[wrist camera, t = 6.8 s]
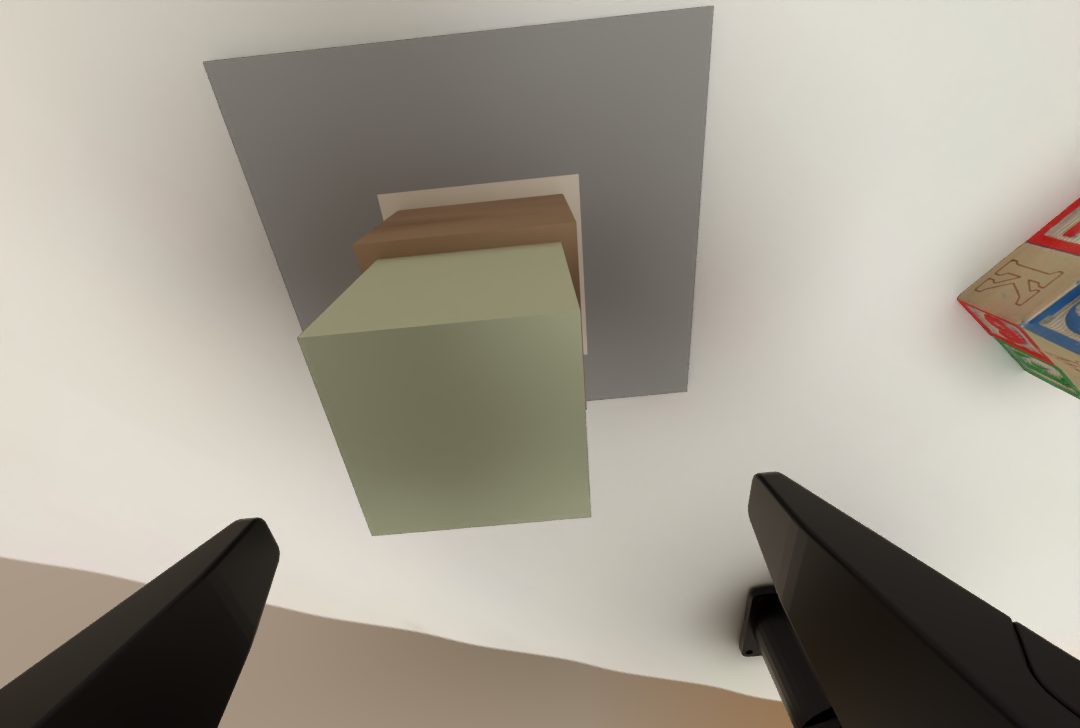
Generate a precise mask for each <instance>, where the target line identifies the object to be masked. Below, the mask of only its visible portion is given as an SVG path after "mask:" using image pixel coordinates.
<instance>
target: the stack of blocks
mask: <svg viewBox="0 0 1080 728" xmlns="http://www.w3.org/2000/svg"><path fill="white" fill-rule="evenodd" d="M957 300H958V301H959V302H960V303H961V304H962V306H963V307H964V308H965V309H966V310H967V311H968V312H969V313H970V314H971V315H972V316H973V317H974V318H975V319H976V320H977V322H978V323H979V324H980V325H981V326H982V327H983V328H984V329H985V330H986V331H987V332H988V333H989V334H990V335H991V336H994V338H996V340H997V341H998V342H999V343H1000V344H1001V345H1002V346H1003V347H1004V348H1005V349H1006V350H1007V352H1008V353H1009V354H1010V355H1011V356H1012V357H1013V358H1014V359H1015V360H1016V361H1017V362H1018V363H1019V364H1020V366H1021V367H1022V368H1023V369H1024V370H1025V371H1027V372H1029V373H1030V374H1032V375H1034V376H1036V377H1038V378H1039V379H1041V380H1043V381H1045V382H1047V383H1049V384H1051V385H1053V386H1055V387H1057V388H1059V389H1061V390H1063V391H1065V392H1067V393H1069V394H1071V395H1072V396H1074V397H1076V398H1078V399H1080V198H1079V199H1078V200H1076V201H1075V202H1074V203H1073V204H1071V205H1070V206H1069V207H1068V208H1067V209H1065V210H1064V211H1063V212H1062V213H1060V214H1059V215H1058V216H1057V217H1055V218H1054V219H1053V220H1052V221H1051V222H1049V223H1048V224H1047V225H1046V226H1044V227H1043V228H1042V229H1041V230H1040V231H1038V232H1037V233H1036V234H1035V235H1033V236H1032V237H1031V238H1030V239H1029V240H1027V241H1026V242H1025V243H1024V244H1022V245H1021V246H1019V247H1018V248H1017V249H1016V250H1014V251H1013V252H1012V253H1011V254H1009V255H1008V256H1007V257H1006V258H1004V259H1003V260H1002V261H1001V262H999V263H998V264H997V265H996V266H995V267H993V268H992V269H991V270H990V271H988V272H987V273H986V274H985V275H984V276H982V277H981V278H980V279H979V280H977V281H976V282H975V283H974V284H973V285H971V286H970V287H969V288H968V289H966V290H965V291H964V292H963V293H962V294H960V295H959V296H958V298H957Z"/></svg>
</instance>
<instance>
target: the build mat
mask: <svg viewBox="0 0 1080 728" xmlns="http://www.w3.org/2000/svg"><path fill="white" fill-rule="evenodd" d="M713 9H714V6H706V7H697V8H688V9H679V10H670V11H661V12H651V13H642V14H633V15H624V16H615V17H606V18H597V19H588V20H579V21H570V22H560V23H551V24H542V25H533V26H524V27H515V28H506V29H497V30H488V31H478V32H469V33H460V34H451V35H442V36H433V37H424V38H415V39H406V40H397V41H387V42H378V43H369V44H360V45H351V46H342V47H333V48H324V49H315V50H305V51H296V52H287V53H278V54H269V55H260V56H251V57H242V58H233V59H224V60H214V61H205V62H203V64H204V67H205V70H206V73H207V75H208V78H209V81H210V83H211V86H212V89H213V91H214V94H215V97H216V99H217V102H218V105H219V108H220V110H221V113H222V116H223V118H224V121H225V124H226V126H227V129H228V132H229V134H230V137H231V140H232V143H233V145H234V148H235V151H236V153H237V156H238V159H239V161H240V164H241V167H242V169H243V172H244V175H245V178H246V180H247V183H248V186H249V188H250V191H251V194H252V196H253V199H254V202H255V204H256V207H257V210H258V213H259V215H260V218H261V221H262V223H263V226H264V229H265V231H266V234H267V237H268V239H269V242H270V245H271V248H272V250H273V253H274V256H275V258H276V261H277V264H278V266H279V269H280V272H281V274H282V277H283V280H284V283H285V285H286V288H287V291H288V293H289V296H290V299H291V301H292V304H293V307H294V309H295V312H296V315H297V318H298V320H299V323H300V326H301V328H302V331H303V332H304V331H305V330H306V329H307V328H308V327H309V326H310V325H311V324H312V323H313V322H314V321H315V320H316V319H317V318H318V317H319V316H320V315H321V314H322V313H323V312H324V311H325V310H326V309H327V308H328V307H329V306H330V305H331V304H332V303H333V302H334V301H335V300H336V299H337V298H338V297H339V296H340V295H341V294H342V293H343V292H344V291H346V290H347V289H348V288H349V287H350V286H351V285H352V284H353V283H354V282H355V281H356V280H357V279H358V278H359V277H360V276H361V273H360V270H359V266H358V263H357V259H356V256H355V253H354V249H353V246H352V245H353V244H354V243H355V242H357V241H358V240H359V239H361V238H362V237H363V236H365V235H366V234H367V233H369V232H370V231H371V230H373V229H374V228H375V227H377V226H378V225H379V224H381V223H382V222H383V221H385V220H386V219H387V218H389V217H390V216H391V215H393V214H394V213H395V212H397V211H398V210H408V209H418V208H428V207H437V206H447V205H457V204H467V203H476V202H486V201H496V200H506V199H515V198H525V197H535V196H545V195H554V194H563V195H564V197H565V199H566V201H567V203H568V205H569V207H570V210H571V212H572V214H573V216H574V218H575V220H576V223H577V241H578V260H579V278H580V297H581V315H582V334H583V352H584V371H585V389H586V401H592V400H603V399H613V398H624V397H635V396H645V395H656V394H667V393H677V392H687V384H688V370H689V356H690V341H691V327H692V312H693V298H694V283H695V269H696V255H697V240H698V226H699V211H700V197H701V182H702V168H703V154H704V139H705V125H706V110H707V96H708V81H709V67H710V53H711V38H712V24H713Z"/></svg>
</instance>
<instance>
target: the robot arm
mask: <svg viewBox="0 0 1080 728" xmlns="http://www.w3.org/2000/svg"><path fill="white" fill-rule="evenodd" d="M748 513H749V518H750V521H751V524H752V527H753V529H754V532H755V535H756V538H757V540H758V543H759V546H760V548H761V551H762V554H763V556H764V559H765V562H766V564H767V567H768V570H769V573H770V575H771V578H772V581H773V583H774V586H775V587H766V588H757V589H754V590H752V591H751V592H750V594H749V598H748V603H747V609H746V614H745V619H744V624H743V629H742V635H741V640H740V645H739V649H740V651H741V654H742V655H743V656H746V657H749V656H761V655H762V656H763V658H764V661H765V663H766V665H767V667H768V670H769V672H770V674H771V677H772V679H773V681H774V683H775V686H776V688H777V690H778V693H779V695H780V697H781V699H782V702H783V704H784V706H785V709H786V711H787V713H788V715H789V717H790V720H791V722H792V724H793V727H794V728H1080V660H1078V659H1077V658H1075V657H1073V656H1072V655H1070V654H1068V653H1067V652H1065V651H1063V650H1062V649H1060V648H1059V647H1057V646H1055V645H1054V644H1052V643H1050V642H1049V641H1047V640H1046V639H1044V638H1042V637H1041V636H1039V635H1038V634H1036V633H1035V632H1033V631H1031V630H1030V629H1028V628H1027V627H1025V626H1023V625H1022V624H1020V623H1019V622H1012V620H1011V618H1010V617H1009V616H1007V615H1006V614H1004V613H1002V612H1001V611H999V610H998V609H996V608H995V607H993V606H991V605H990V604H988V603H987V602H985V601H983V600H982V599H980V598H979V597H977V596H975V595H974V594H972V593H971V592H969V591H968V590H966V589H964V588H963V587H961V586H960V585H958V584H956V583H955V582H953V581H952V580H950V579H948V578H947V577H945V576H944V575H942V574H941V573H939V572H937V571H936V570H934V569H933V568H931V567H929V566H928V565H926V564H925V563H923V562H922V561H920V560H918V559H917V558H915V557H914V556H912V555H910V554H909V553H907V552H906V551H904V550H902V549H901V548H899V547H898V546H896V545H895V544H893V543H891V542H890V541H888V540H887V539H885V538H883V537H882V536H880V535H879V534H877V533H875V532H874V531H872V530H871V529H869V528H868V527H866V526H864V525H863V524H861V523H860V522H858V521H856V520H855V519H853V518H852V517H850V516H848V515H847V514H845V513H844V512H842V511H841V510H839V509H837V508H836V507H834V506H833V505H831V504H829V503H828V502H826V501H825V500H823V499H821V498H820V497H818V496H817V495H815V494H814V493H812V492H810V491H809V490H807V489H806V488H804V487H802V486H801V485H799V484H798V483H796V482H795V481H793V480H791V479H790V478H788V477H787V476H785V475H783V474H782V473H779V472H766V473H757V474H755V475H754V477H753V480H752V485H751V491H750V497H749V504H748ZM279 556H280V551H279V547H278V545H277V543H276V541H275V539H274V537H273V535H272V533H271V531H270V529H269V527H268V525H267V524H266V522H265V521H264V520H263V519H262V518H246V519H239V520H236V521H235V522H233V523H232V524H230V525H229V526H227V527H226V528H225V529H223V530H222V531H220V532H219V533H218V534H216V535H215V536H213V537H212V538H211V539H209V540H208V541H206V542H205V543H204V544H202V545H201V546H199V547H198V548H197V549H195V550H194V551H192V552H191V553H190V554H188V555H187V556H185V557H184V558H183V559H181V560H180V561H179V562H177V563H176V564H174V565H173V566H172V567H170V568H169V569H167V570H166V571H165V572H163V573H162V574H160V575H159V576H158V577H156V578H155V579H153V580H152V581H151V582H149V583H148V584H146V585H145V586H144V587H142V588H141V589H140V590H138V591H137V592H135V593H134V594H133V595H131V596H130V597H128V598H127V599H126V600H124V601H123V602H121V603H120V604H119V605H117V606H116V607H114V608H113V609H112V610H110V611H109V612H107V613H106V614H105V615H103V616H102V617H100V618H99V619H98V620H96V621H95V622H93V623H92V624H91V625H89V626H88V627H86V628H85V629H84V630H82V631H81V632H80V633H78V634H77V635H75V636H74V637H72V638H71V639H70V640H68V641H67V642H65V643H64V644H63V645H61V646H60V647H59V648H57V649H56V650H54V651H53V652H52V653H50V654H49V655H48V656H46V657H45V658H43V659H42V660H41V661H39V662H38V663H36V664H35V665H33V666H32V667H31V668H29V669H28V670H26V671H25V672H24V673H22V674H21V675H20V676H18V677H17V678H15V679H14V680H12V681H11V682H10V683H8V684H7V685H6V686H4V687H3V688H2V689H0V728H218V725H219V723H220V720H221V718H222V716H223V713H224V711H225V709H226V706H227V704H228V701H229V699H230V697H231V694H232V692H233V689H234V687H235V685H236V682H237V680H238V678H239V675H240V673H241V671H242V668H243V666H244V664H245V661H246V659H247V656H248V654H249V651H250V648H251V646H252V643H253V640H254V637H255V635H256V632H257V629H258V625H259V622H260V619H261V616H262V613H263V609H264V607H265V603H266V600H267V597H268V594H269V591H270V588H271V584H272V581H273V578H274V575H275V572H276V569H277V565H278V562H279Z"/></svg>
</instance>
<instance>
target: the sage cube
mask: <svg viewBox="0 0 1080 728" xmlns="http://www.w3.org/2000/svg"><path fill="white" fill-rule="evenodd" d="M297 339H298V342H299V344H300V347H301V350H302V352H303V355H304V358H305V360H306V363H307V366H308V368H309V371H310V373H311V376H312V379H313V381H314V384H315V387H316V389H317V392H318V395H319V397H320V400H321V403H322V405H323V408H324V411H325V413H326V416H327V418H328V421H329V424H330V426H331V429H332V432H333V434H334V437H335V440H336V442H337V445H338V448H339V450H340V453H341V456H342V458H343V461H344V463H345V466H346V469H347V471H348V474H349V477H350V479H351V482H352V485H353V487H354V490H355V493H356V495H357V498H358V501H359V503H360V506H361V508H362V511H363V514H364V516H365V519H366V522H367V524H368V527H369V530H370V532H371V535H372V536H379V535H391V534H402V533H413V532H425V531H436V530H448V529H459V528H471V527H482V526H494V525H505V524H517V523H528V522H540V521H551V520H563V519H574V518H586V517H591V504H590V485H589V466H588V447H587V428H586V409H585V390H584V371H583V352H582V333H581V314H580V308H579V304H578V301H577V297H576V294H575V290H574V287H573V283H572V279H571V276H570V272H569V269H568V265H567V262H566V258H565V254H564V251H563V247H562V244H561V241H560V242H550V243H540V244H530V245H520V246H510V247H499V248H489V249H479V250H469V251H459V252H448V253H438V254H428V255H418V256H408V257H397V258H387V259H377V260H376V261H375V262H374V263H373V264H372V265H371V266H370V267H369V268H368V269H367V270H366V271H365V272H364V273H363V274H362V275H361V276H360V277H359V278H358V279H357V280H356V281H355V282H354V283H353V284H352V285H351V286H350V287H349V288H348V289H347V290H346V291H344V292H343V293H342V294H341V295H340V296H339V297H338V298H337V299H336V300H335V301H334V302H333V303H332V304H331V305H330V306H329V307H328V308H327V309H326V310H325V311H324V312H323V313H322V314H321V315H320V316H319V317H318V318H317V319H316V320H315V321H314V322H313V323H312V324H311V325H310V326H309V327H308V328H307V329H306V330H305V331H304V332H303V333H302V334H301V335H300V336H298V337H297Z"/></svg>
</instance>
